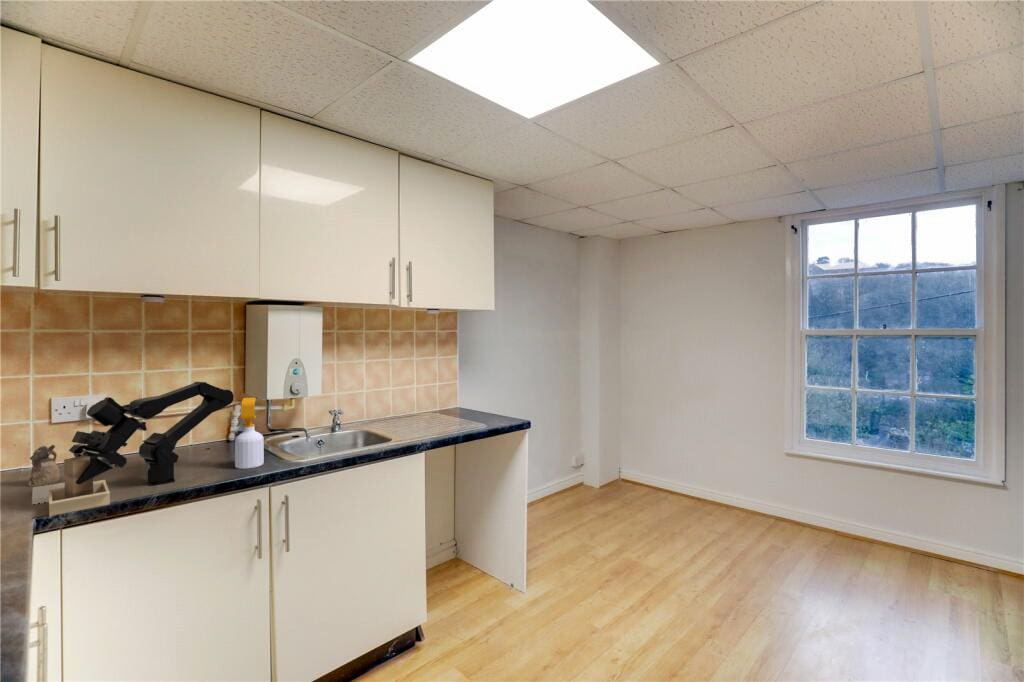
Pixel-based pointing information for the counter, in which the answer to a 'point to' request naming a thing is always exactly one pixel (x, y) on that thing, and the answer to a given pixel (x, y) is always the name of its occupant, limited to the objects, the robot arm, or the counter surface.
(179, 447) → the counter surface
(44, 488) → the tile
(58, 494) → the light wooden tray
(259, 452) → the soap bottle
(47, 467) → the figurine
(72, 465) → the walnut box
